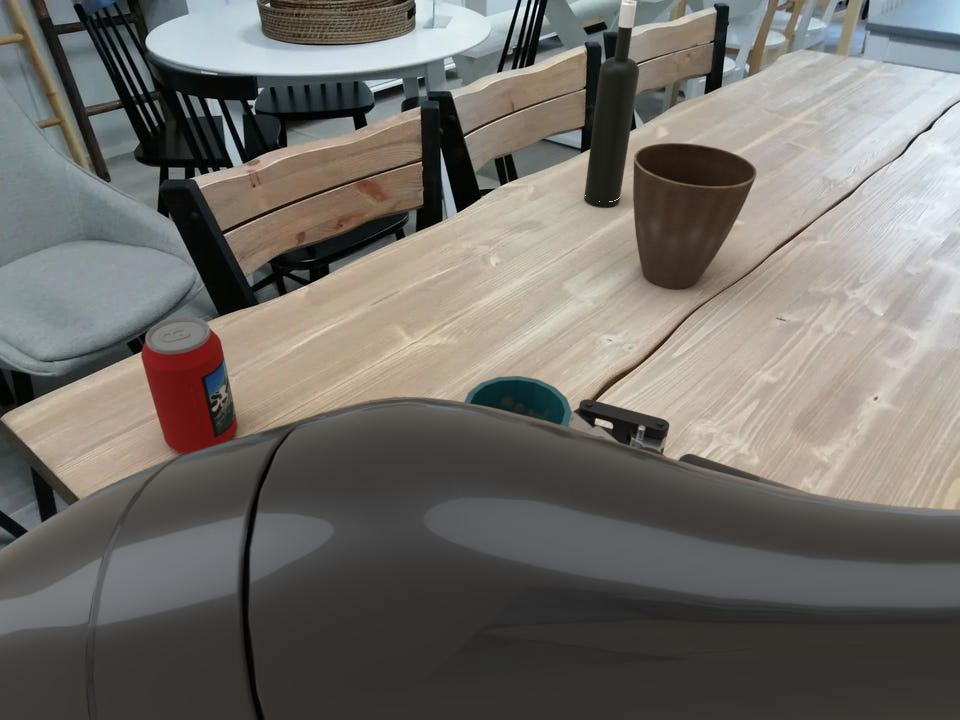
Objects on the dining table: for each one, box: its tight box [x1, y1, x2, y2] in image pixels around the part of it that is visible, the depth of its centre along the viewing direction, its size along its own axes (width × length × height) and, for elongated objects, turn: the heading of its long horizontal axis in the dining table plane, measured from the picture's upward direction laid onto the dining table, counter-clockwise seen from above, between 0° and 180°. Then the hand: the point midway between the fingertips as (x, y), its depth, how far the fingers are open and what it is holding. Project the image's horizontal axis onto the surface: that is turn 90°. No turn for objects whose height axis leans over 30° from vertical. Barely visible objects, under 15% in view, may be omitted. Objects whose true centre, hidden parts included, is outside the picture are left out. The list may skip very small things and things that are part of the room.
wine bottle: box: [583, 0, 640, 208], centre depth 112 cm, size 6×6×30 cm
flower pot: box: [632, 142, 758, 290], centre depth 97 cm, size 15×15×16 cm
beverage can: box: [140, 316, 238, 454], centre depth 68 cm, size 7×7×12 cm
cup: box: [463, 375, 573, 428], centre depth 47 cm, size 6×6×10 cm
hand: (480, 445), depth 47 cm, fingers closed on cup, 6 cm apart
